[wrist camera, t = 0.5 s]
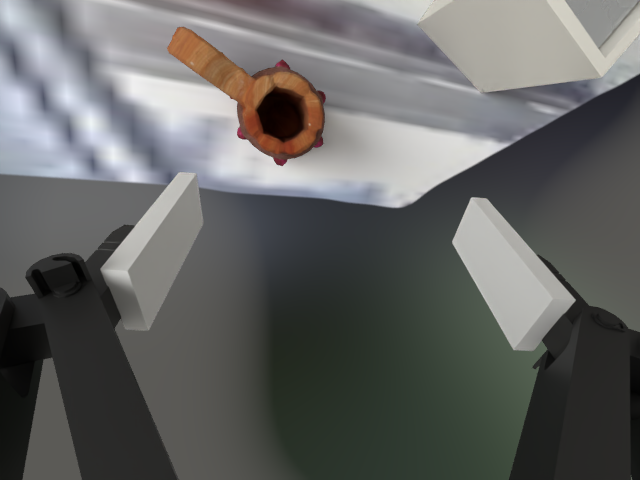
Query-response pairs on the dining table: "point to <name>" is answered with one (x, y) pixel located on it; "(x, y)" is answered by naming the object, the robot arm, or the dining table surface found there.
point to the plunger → (600, 16)
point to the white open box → (522, 41)
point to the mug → (260, 98)
